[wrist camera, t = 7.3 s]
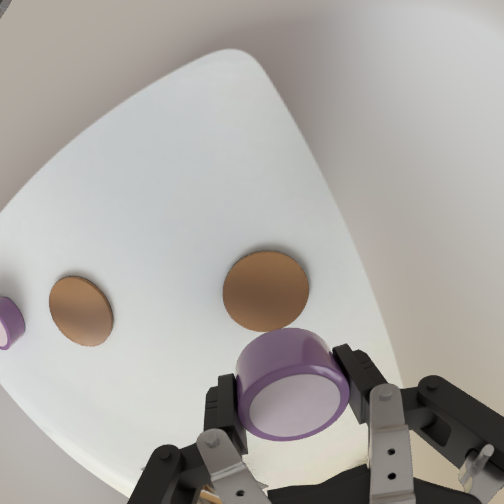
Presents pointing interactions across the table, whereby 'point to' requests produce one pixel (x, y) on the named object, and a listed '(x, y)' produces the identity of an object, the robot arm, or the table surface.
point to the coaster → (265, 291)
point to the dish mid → (10, 323)
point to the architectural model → (212, 494)
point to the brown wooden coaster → (81, 311)
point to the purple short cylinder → (289, 385)
